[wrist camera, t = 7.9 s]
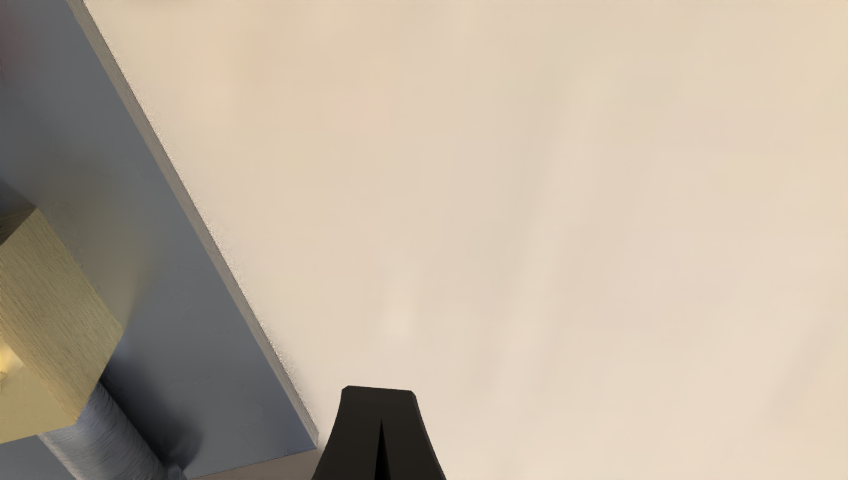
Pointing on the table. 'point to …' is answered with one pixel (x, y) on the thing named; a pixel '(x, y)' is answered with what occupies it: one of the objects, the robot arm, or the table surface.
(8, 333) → the grey machine base
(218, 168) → the table surface
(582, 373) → the table surface
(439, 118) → the table surface
